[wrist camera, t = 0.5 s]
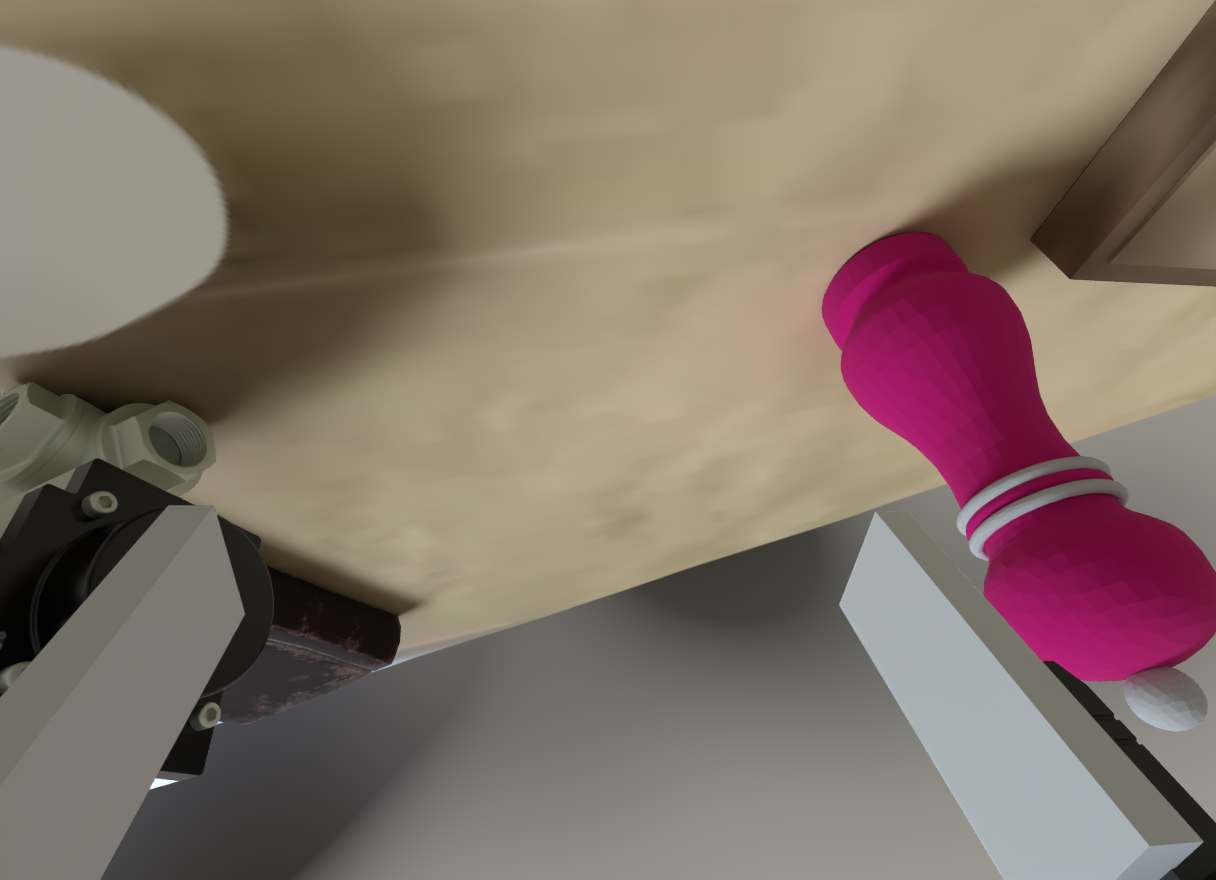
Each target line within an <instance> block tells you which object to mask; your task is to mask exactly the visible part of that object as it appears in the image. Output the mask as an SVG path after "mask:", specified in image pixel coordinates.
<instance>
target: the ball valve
mask: <svg viewBox="0 0 1216 880" xmlns="http://www.w3.org/2000/svg"><path fill="white" fill-rule="evenodd" d="M215 462H216V451H215V444H214V440H213V436H212V433H211V431H210V428H209V426H208V424H207V423H206V422H205V421H204V420H203V419H201V418H200V417H199V416H198V415H196V414H195V413H193V412H192V411H190V410H188V409H187V408H185V407H183V406H181V405H179V404H177V403H174V402H172V401H170V400H168V401H166V402H164V403H162V404H159V405H157V406H156V405H152V404H146V403H134V404H128V405H125V406H122V407H120V408H118V409H116V410H114V411H112V412H110V413H108V414H107V413H105V412H104V411H102V410H100V409H98V408H96V407H95V406H93V405H91V404H89V403H87V402H86V401H84V400H82V399H80V398H78V397H76V396H75V395H73V394H64V395H61V396H57V395H55V394H53V393H51V392H50V391H48V390H46V389H44V388H42V387H40V386H39V385H37V384H35V383H33V382H32V383H27V384H23V385H20V386H17V387H15V388H13V389H11V390H9V391H8V392H6V393H5V394H3V395H2V396H1V397H0V695H3V694H4V693H5V692H6V691H7V690H8V688H9V687H10V686H11V685H12V684H13V683H14V682H15V680H16V679H17V678H18V677H19V676H20V675H21V674H22V672H23V671H24V670H25V669H26V668H27V667H28V666H29V664H30V663H31V662H32V661H33V660H34V659H35V658H36V656H37V655H38V654H39V653H40V652H41V651H42V649H43V648H44V647H45V646H46V645H47V644H48V643H49V641H50V640H51V639H52V638H53V637H54V636H55V635H56V633H57V632H58V631H59V630H60V629H61V628H62V627H63V625H64V624H65V623H66V622H67V621H68V620H69V619H70V617H71V616H72V615H73V614H74V613H75V612H76V611H77V609H78V608H79V607H80V606H81V605H82V604H83V603H84V601H85V600H86V599H87V598H88V597H89V596H90V595H91V593H92V592H93V591H94V590H95V589H96V588H97V587H98V585H99V584H100V583H101V582H102V581H103V580H104V579H105V577H106V576H107V575H108V574H109V573H110V572H111V571H112V569H113V568H114V567H115V566H116V565H117V564H118V563H119V561H120V560H121V559H122V558H123V557H124V556H125V555H126V553H127V552H128V551H129V550H130V549H131V548H132V547H133V545H134V544H135V543H136V542H137V541H138V540H139V539H140V537H141V536H142V535H143V534H144V533H145V532H146V531H147V529H148V528H149V527H150V526H151V525H152V524H153V523H154V521H155V520H156V519H157V518H158V517H159V516H160V515H161V513H162V512H163V511H164V510H165V509H166V508H167V507H168V505H193V504H191V503H189V502H187V501H185V500H183V499H181V498H179V497H178V496H180V495H183V494H185V493H187V492H188V491H190V490H191V489H192V488H193V487H194V486H195V485H196V484H197V483H198V481H199V479H200V478H201V475H202V472H203V471H204V470H205V469H207V468H208V467H210V466H211V465H213V464H214V463H215ZM193 506H195V505H193ZM217 517H218V521H219V524H220V528H221V531H222V535H223V538H224V542H225V545H226V549H227V552H228V556H229V559H230V563H231V566H232V570H233V573H234V577H235V580H236V584H237V587H238V591H239V594H240V598H241V601H242V605H243V608H244V612H245V615H244V617H243V619H242V621H241V622H240V624H239V626H238V628H237V630H236V632H235V633H234V635H233V637H232V639H231V641H230V643H229V644H228V646H227V648H226V650H225V652H224V653H223V655H222V657H221V659H220V661H219V663H218V664H217V666H216V668H215V670H214V672H213V674H212V675H211V677H210V679H209V681H208V683H207V685H206V686H205V688H204V690H203V692H202V694H201V696H200V697H199V699H198V701H197V703H196V705H195V707H194V708H193V710H192V712H191V714H190V716H189V718H188V719H187V721H186V723H185V725H184V727H183V729H182V730H181V732H180V734H179V736H178V738H177V740H176V741H175V743H174V745H173V747H172V749H171V750H170V752H169V754H168V756H167V758H166V760H165V761H164V763H163V765H162V767H161V769H160V771H159V772H158V774H157V776H156V778H155V780H154V782H153V783H152V785H151V787H150V789H152V788H156V787H159V786H163V785H166V784H170V783H173V782H177V781H180V780H184V779H187V778H191V777H194V776H198V775H200V774H202V772H203V770H204V765H205V762H206V758H207V754H208V750H209V745H210V742H211V738H212V734H213V730H214V726H215V725H216V724H217V723H218V721H219V720H220V717H221V710H220V707H219V706H220V702H221V698H222V694H223V690H224V689H225V688H227V687H229V686H230V685H232V684H233V683H235V682H236V681H237V680H238V679H240V678H241V677H242V676H243V675H244V674H245V673H246V672H247V671H248V670H249V669H250V668H251V667H252V665H253V664H254V663H255V662H256V660H257V659H258V657H259V656H260V654H261V652H262V651H263V648H264V646H265V644H266V642H267V639H268V637H269V634H270V630H271V626H272V620H273V613H274V596H273V589H272V583H271V579H270V575H269V572H268V569H267V567H266V564H265V562H264V560H263V558H262V556H261V555H260V553H259V547H260V543H261V539H260V537H258V536H256V535H254V534H252V533H250V532H248V531H246V530H244V529H242V528H240V527H238V526H236V525H234V524H232V523H231V522H229V521H228V520H226V519H224V518H223V517H221V516H219V515H217Z"/></svg>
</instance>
